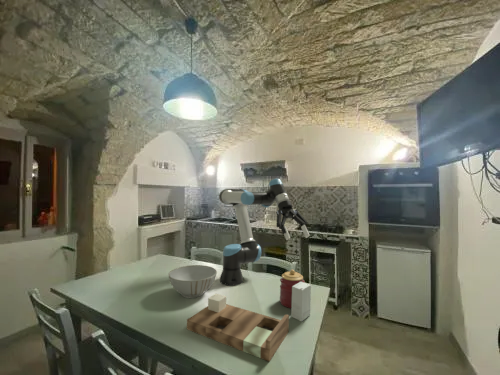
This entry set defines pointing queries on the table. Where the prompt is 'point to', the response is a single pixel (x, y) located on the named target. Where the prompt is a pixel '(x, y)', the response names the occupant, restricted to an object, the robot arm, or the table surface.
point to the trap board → (241, 330)
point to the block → (217, 302)
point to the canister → (288, 287)
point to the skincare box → (301, 301)
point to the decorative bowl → (192, 279)
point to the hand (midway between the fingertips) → (298, 237)
